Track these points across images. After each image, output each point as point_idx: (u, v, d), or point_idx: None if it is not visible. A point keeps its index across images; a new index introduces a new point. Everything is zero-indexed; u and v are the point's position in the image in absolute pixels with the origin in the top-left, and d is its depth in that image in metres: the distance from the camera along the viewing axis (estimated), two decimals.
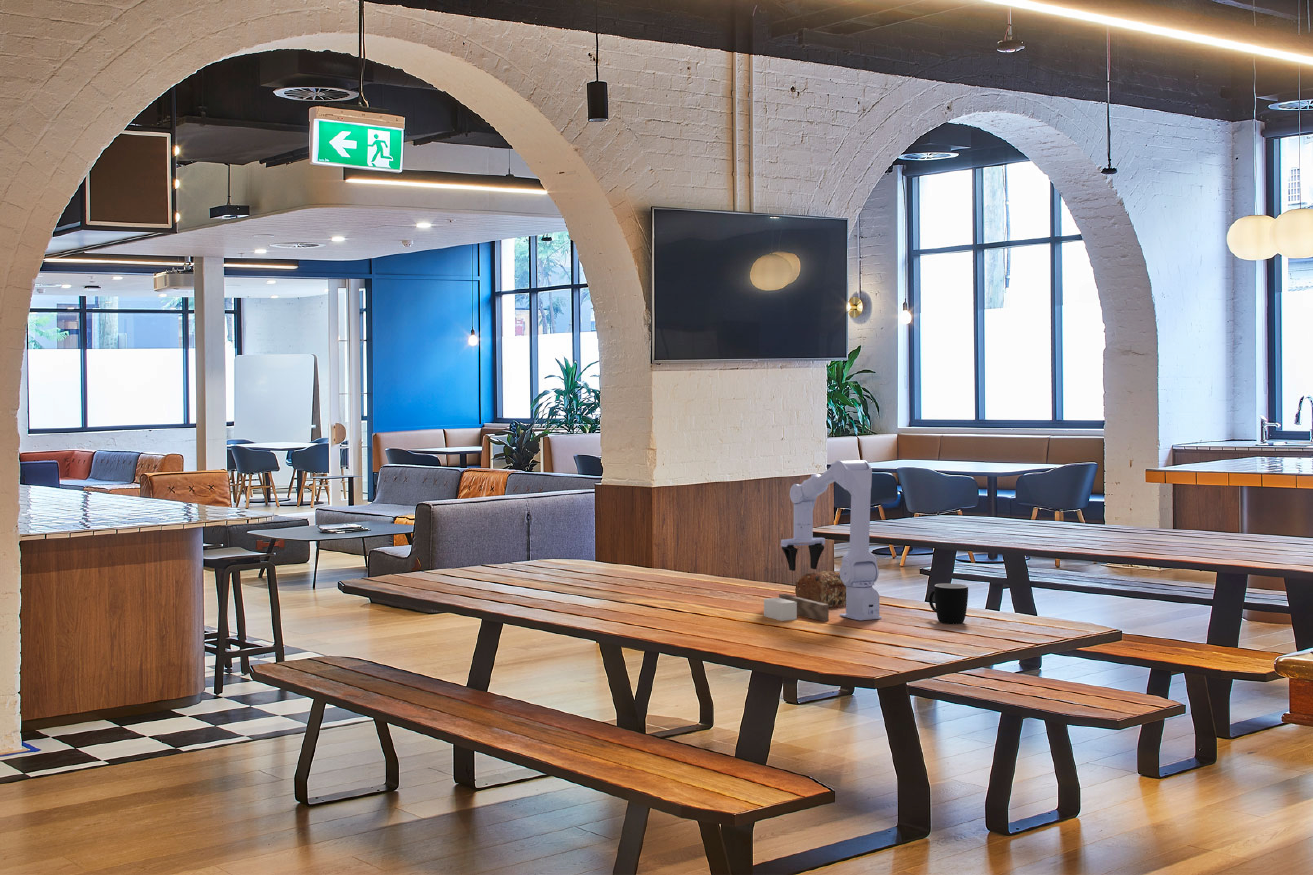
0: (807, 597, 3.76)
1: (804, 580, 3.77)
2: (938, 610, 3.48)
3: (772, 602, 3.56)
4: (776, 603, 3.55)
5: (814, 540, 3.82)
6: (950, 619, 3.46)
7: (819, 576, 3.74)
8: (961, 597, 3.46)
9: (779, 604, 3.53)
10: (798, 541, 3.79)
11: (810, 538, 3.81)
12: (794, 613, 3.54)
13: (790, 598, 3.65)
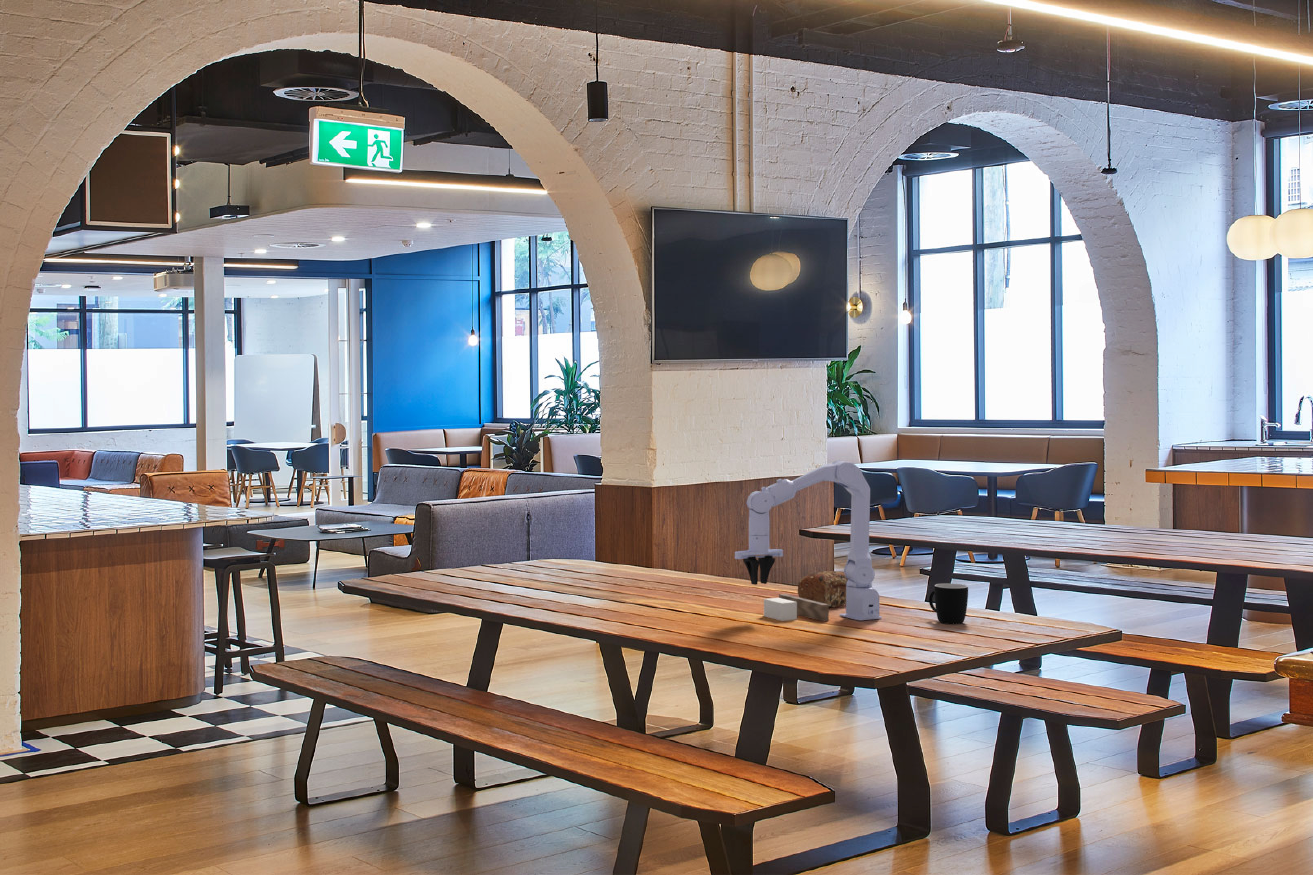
0: (810, 597, 3.75)
1: (807, 581, 3.76)
2: (938, 610, 3.48)
3: (772, 602, 3.56)
4: (776, 603, 3.55)
5: (771, 552, 3.53)
6: (950, 619, 3.46)
7: (823, 576, 3.74)
8: (961, 597, 3.45)
9: (779, 604, 3.53)
10: (753, 553, 3.51)
11: (766, 550, 3.52)
12: (794, 613, 3.54)
13: (790, 598, 3.65)
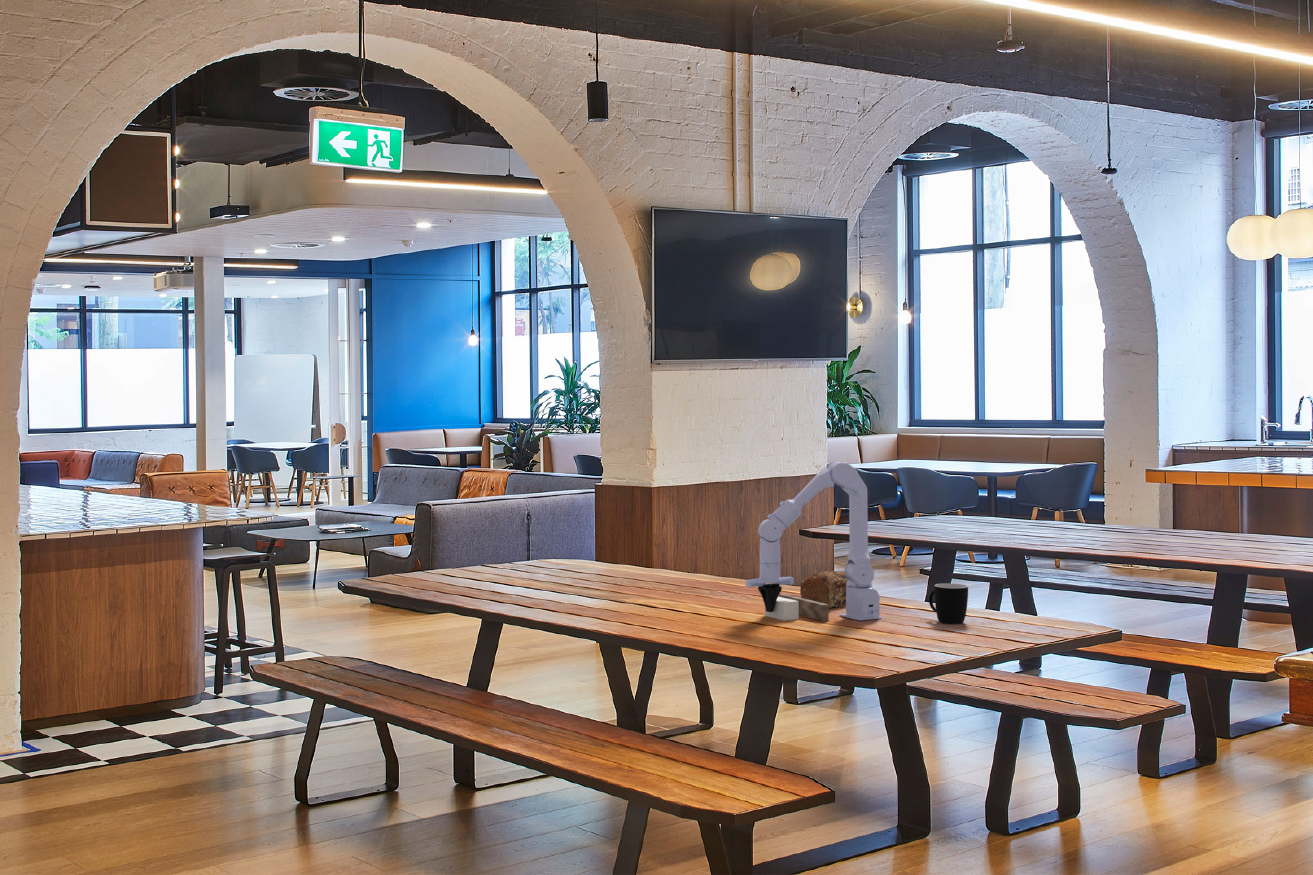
0: (813, 598, 3.75)
1: (810, 581, 3.75)
2: (938, 610, 3.48)
3: None
4: (778, 602, 3.55)
5: (781, 580, 3.55)
6: (950, 619, 3.46)
7: (826, 576, 3.74)
8: (961, 597, 3.45)
9: (781, 603, 3.53)
10: (764, 581, 3.52)
11: (777, 578, 3.54)
12: (796, 612, 3.55)
13: (790, 598, 3.65)
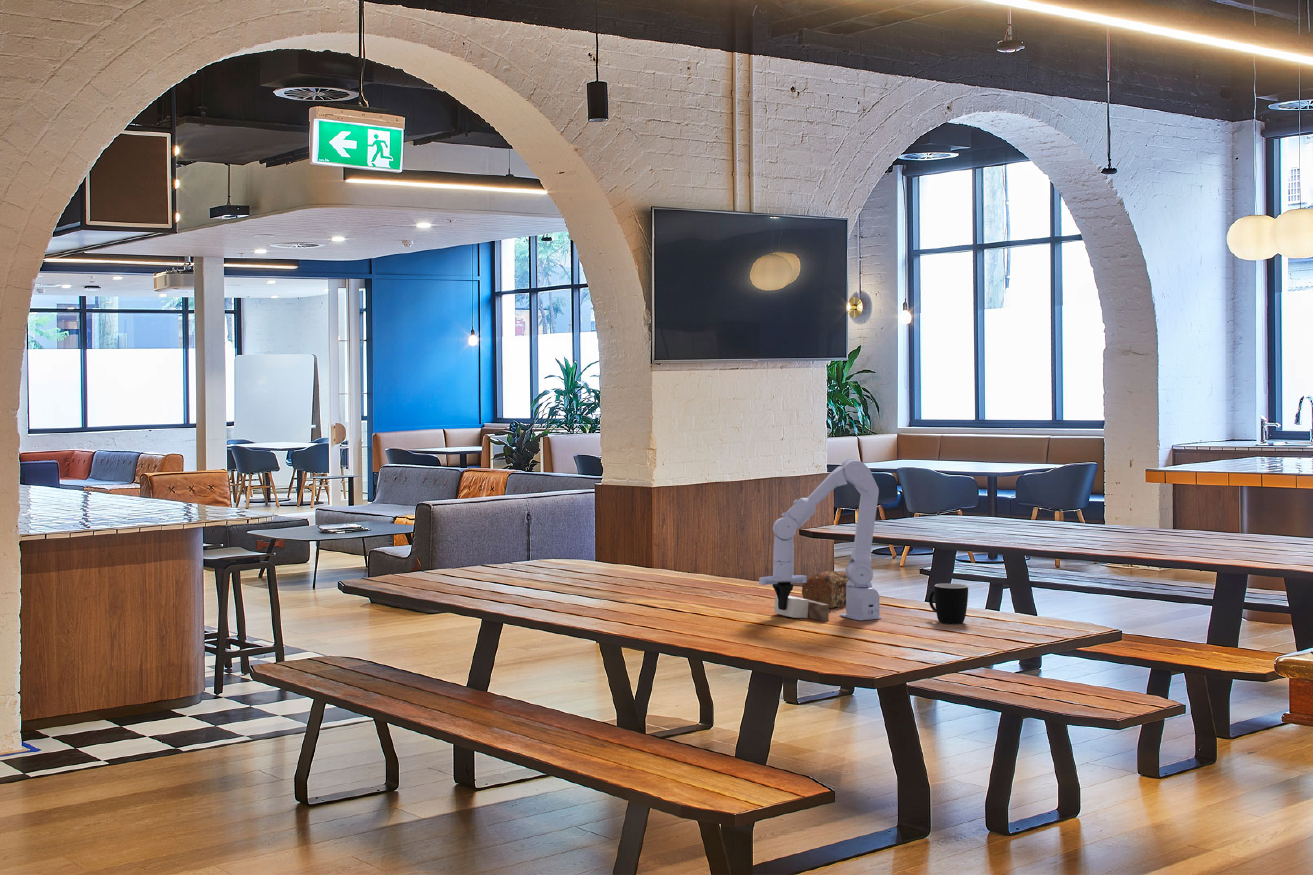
0: (815, 598, 3.74)
1: (812, 581, 3.75)
2: (938, 610, 3.48)
3: None
4: (788, 599, 3.57)
5: (795, 578, 3.57)
6: (950, 619, 3.46)
7: (828, 576, 3.73)
8: (961, 597, 3.46)
9: (792, 600, 3.56)
10: (777, 579, 3.55)
11: (790, 576, 3.56)
12: (805, 611, 3.57)
13: None
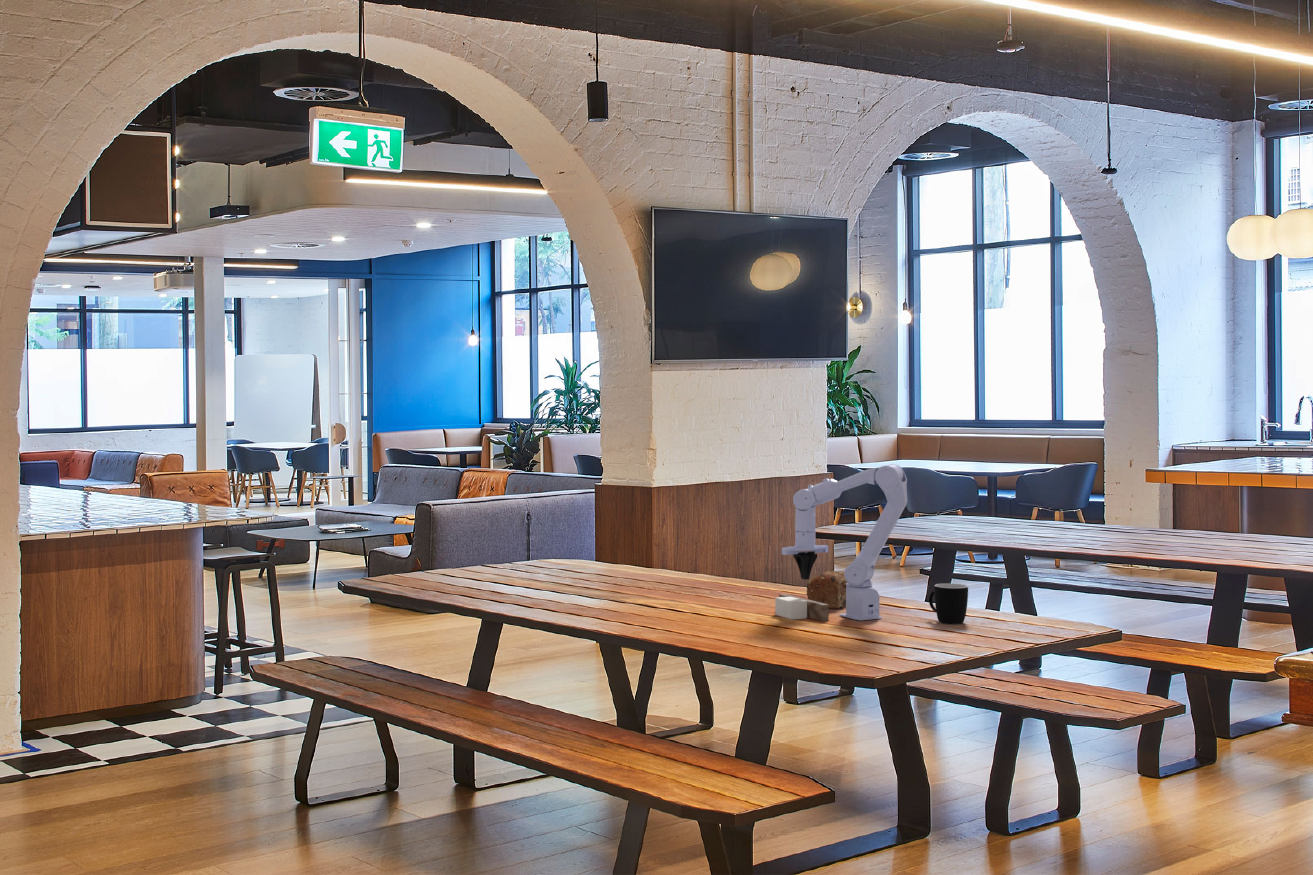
0: (821, 598, 3.74)
1: (817, 582, 3.74)
2: (938, 610, 3.48)
3: (783, 601, 3.59)
4: (786, 602, 3.57)
5: (817, 548, 3.63)
6: (950, 619, 3.46)
7: (834, 577, 3.73)
8: (961, 597, 3.45)
9: (789, 603, 3.55)
10: (800, 549, 3.61)
11: (813, 546, 3.62)
12: (804, 612, 3.56)
13: None
